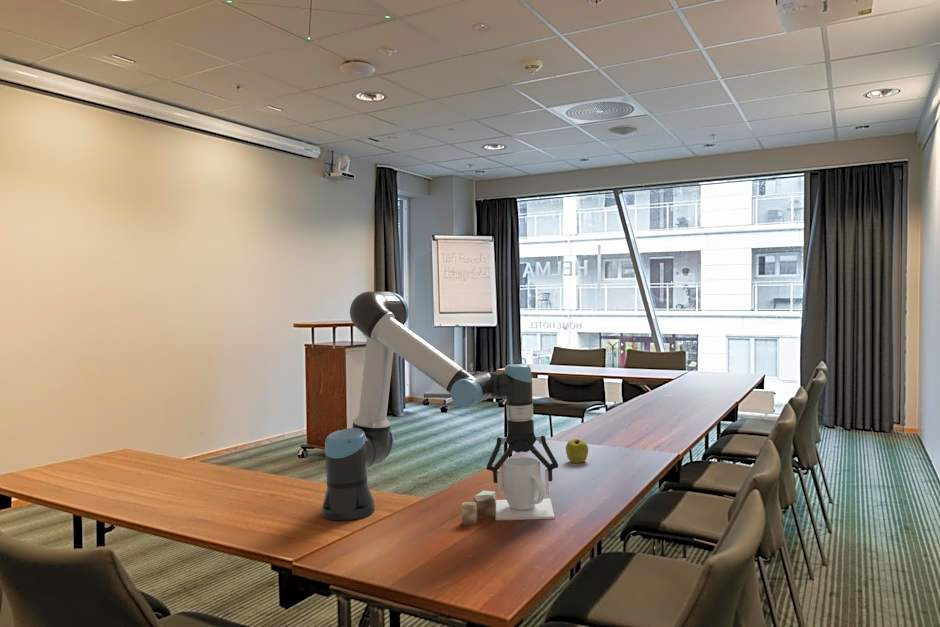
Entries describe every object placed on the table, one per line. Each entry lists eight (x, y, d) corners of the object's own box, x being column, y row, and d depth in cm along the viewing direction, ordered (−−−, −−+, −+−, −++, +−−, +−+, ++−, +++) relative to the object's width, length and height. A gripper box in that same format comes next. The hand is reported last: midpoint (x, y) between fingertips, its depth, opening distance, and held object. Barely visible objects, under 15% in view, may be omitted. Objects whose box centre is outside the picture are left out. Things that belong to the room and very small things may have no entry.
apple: (569, 455, 241) (575, 430, 239) (588, 463, 236) (594, 438, 234) (559, 460, 234) (565, 434, 232) (578, 469, 230) (585, 443, 228)
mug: (558, 510, 180) (556, 464, 179) (527, 519, 174) (525, 471, 173) (525, 498, 192) (523, 454, 192) (495, 506, 186) (493, 461, 186)
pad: (495, 520, 176) (495, 517, 176) (496, 501, 192) (496, 499, 192) (554, 518, 175) (554, 516, 175) (550, 500, 191) (550, 498, 191)
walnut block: (478, 519, 178) (477, 501, 178) (474, 513, 183) (473, 496, 183) (495, 517, 179) (494, 499, 179) (491, 511, 184) (490, 494, 184)
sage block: (475, 510, 186) (474, 496, 186) (483, 503, 191) (483, 490, 191) (487, 511, 184) (487, 497, 184) (496, 505, 190) (495, 491, 189)
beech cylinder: (462, 525, 174) (461, 506, 173) (463, 519, 178) (462, 501, 177) (476, 524, 173) (476, 506, 173) (477, 519, 177) (476, 501, 177)
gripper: (475, 422, 180) (479, 498, 180) (565, 419, 179) (568, 496, 179) (476, 418, 188) (480, 490, 188) (563, 415, 186) (566, 488, 187)
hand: (523, 493), depth 184 cm, fingers open, 13 cm apart
